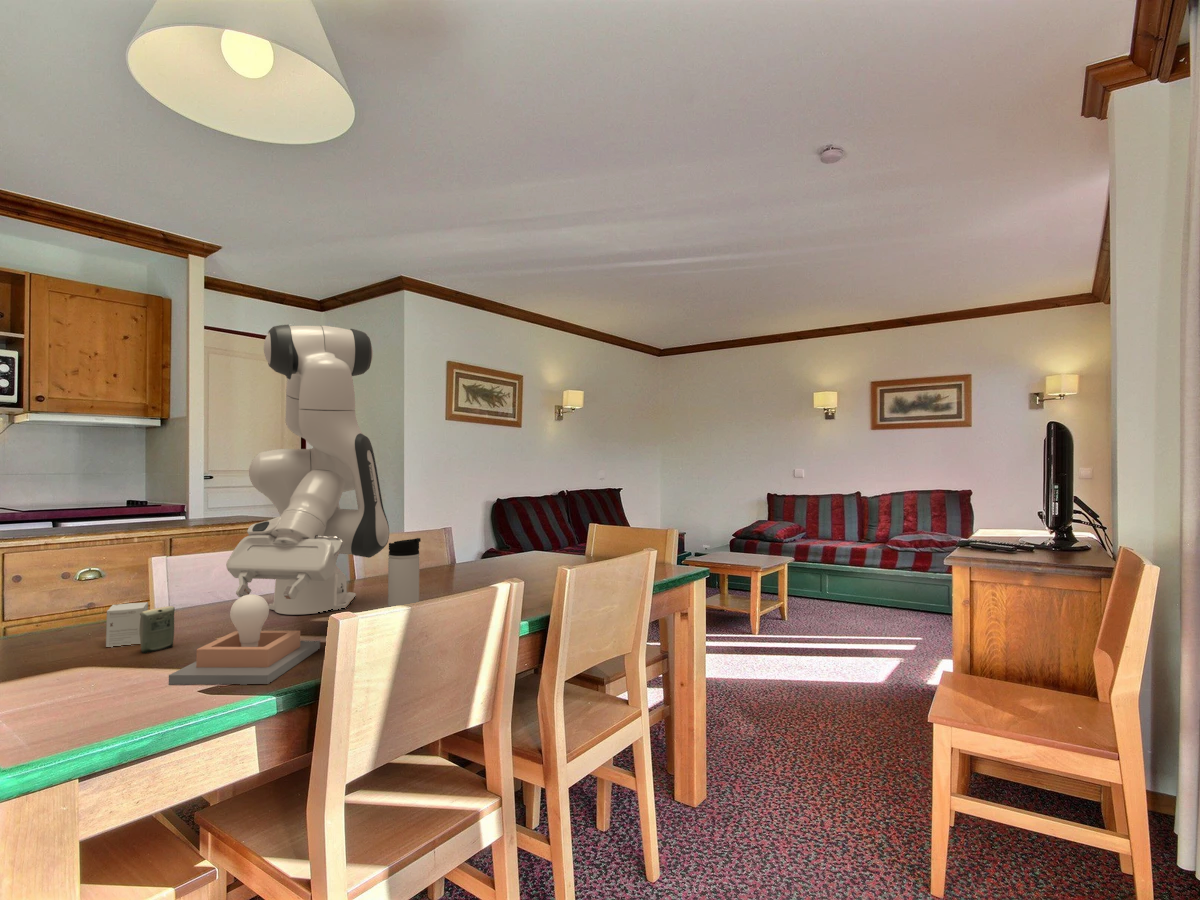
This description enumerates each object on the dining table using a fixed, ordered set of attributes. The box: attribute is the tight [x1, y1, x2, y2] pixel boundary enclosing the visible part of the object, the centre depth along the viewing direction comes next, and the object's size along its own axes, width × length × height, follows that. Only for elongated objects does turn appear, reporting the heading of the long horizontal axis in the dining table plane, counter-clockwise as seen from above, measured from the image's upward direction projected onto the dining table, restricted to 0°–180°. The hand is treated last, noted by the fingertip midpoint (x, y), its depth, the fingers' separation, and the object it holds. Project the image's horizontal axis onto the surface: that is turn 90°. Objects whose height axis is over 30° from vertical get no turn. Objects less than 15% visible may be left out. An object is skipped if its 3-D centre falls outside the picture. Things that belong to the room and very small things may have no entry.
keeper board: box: [168, 630, 321, 686], centre depth 115 cm, size 20×16×4 cm
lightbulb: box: [229, 593, 270, 647], centre depth 115 cm, size 6×6×11 cm
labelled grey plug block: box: [139, 605, 176, 654], centre depth 124 cm, size 6×5×8 cm
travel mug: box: [387, 537, 422, 608], centre depth 136 cm, size 6×7×20 cm
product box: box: [105, 601, 149, 648], centre depth 129 cm, size 6×6×7 cm
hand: (264, 596), depth 118 cm, fingers open, 8 cm apart
